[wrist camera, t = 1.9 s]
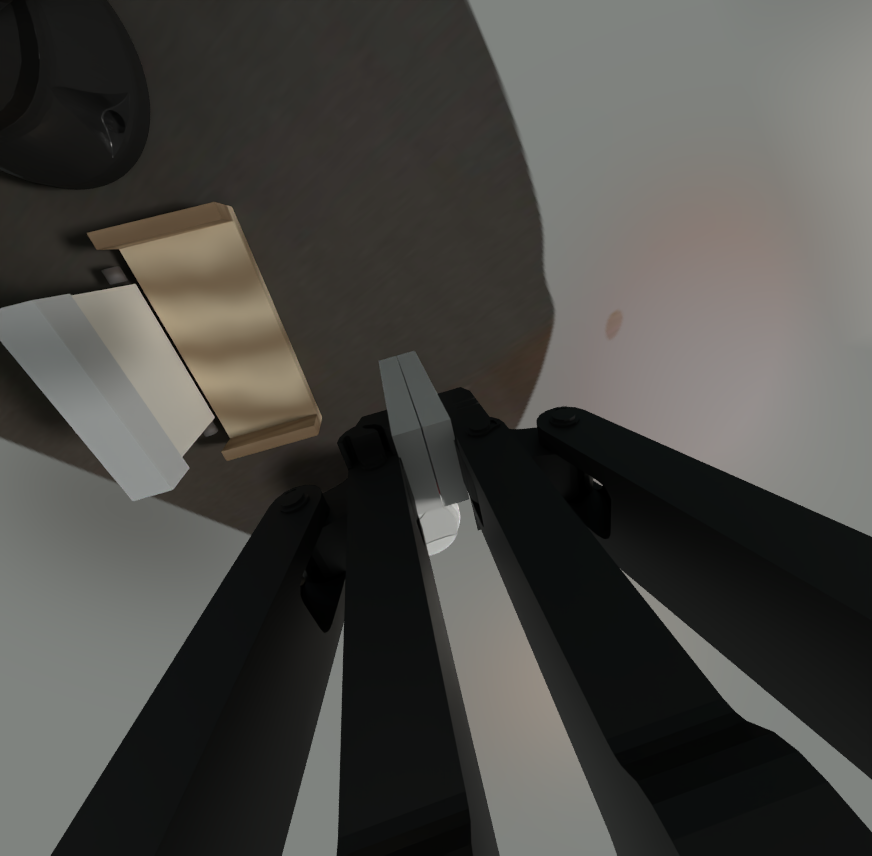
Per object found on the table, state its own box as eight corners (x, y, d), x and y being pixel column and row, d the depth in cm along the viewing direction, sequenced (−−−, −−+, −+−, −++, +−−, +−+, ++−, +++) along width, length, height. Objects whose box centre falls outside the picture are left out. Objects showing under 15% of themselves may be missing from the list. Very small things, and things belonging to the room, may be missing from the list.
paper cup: (403, 491, 50) (417, 571, 38) (367, 455, 47) (370, 531, 34) (449, 460, 49) (478, 531, 37) (416, 421, 46) (436, 486, 33)
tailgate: (122, 287, 33) (-23, 313, 20) (155, 278, 33) (32, 300, 20) (203, 420, 39) (132, 501, 27) (231, 413, 39) (173, 489, 27)
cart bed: (95, 240, 32) (57, 240, 28) (232, 206, 33) (214, 201, 29) (220, 446, 42) (206, 466, 38) (322, 417, 43) (318, 434, 39)
